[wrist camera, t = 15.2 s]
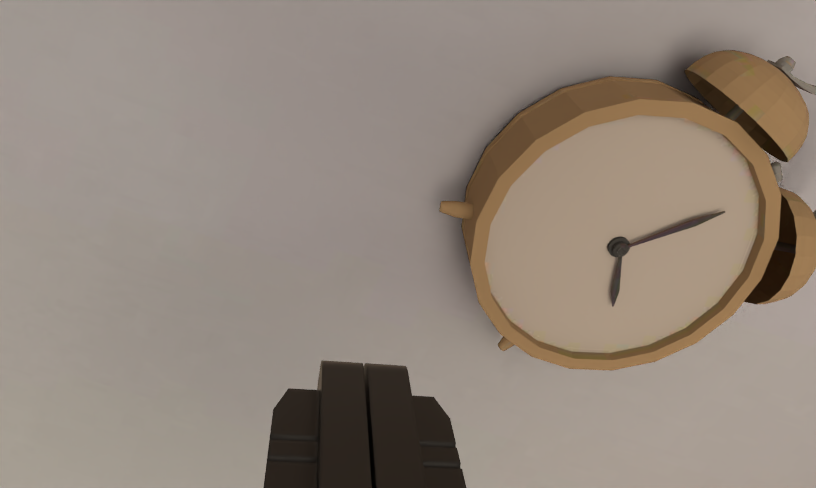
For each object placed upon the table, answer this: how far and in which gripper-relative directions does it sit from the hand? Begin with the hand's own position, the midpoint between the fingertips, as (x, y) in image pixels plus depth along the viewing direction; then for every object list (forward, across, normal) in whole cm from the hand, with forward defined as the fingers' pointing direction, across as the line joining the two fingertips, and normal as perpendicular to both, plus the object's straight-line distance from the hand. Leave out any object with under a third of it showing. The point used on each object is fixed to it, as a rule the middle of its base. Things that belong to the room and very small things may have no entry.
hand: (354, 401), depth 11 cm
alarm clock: (+14, -12, 0) cm, 18 cm away
